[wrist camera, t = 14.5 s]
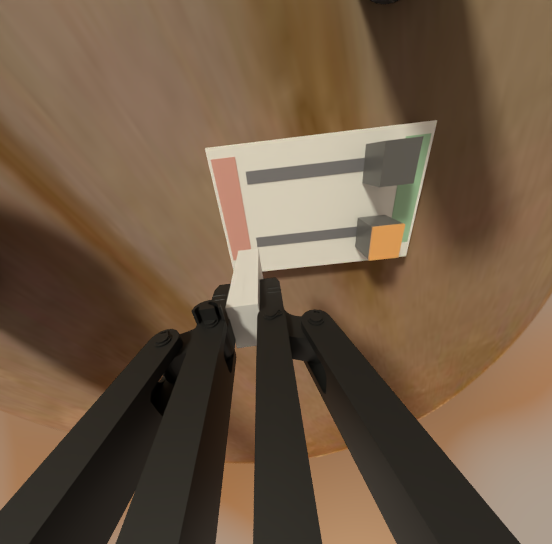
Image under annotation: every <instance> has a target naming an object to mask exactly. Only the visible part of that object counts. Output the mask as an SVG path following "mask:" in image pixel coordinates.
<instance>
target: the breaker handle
mask: <svg viewBox="0 0 552 544" xmlns="http://www.w3.org/2000/svg"><path fill="white" fill-rule="evenodd" d="M404 229H405V224H404V223H402V222H400V221H397V220H395V219H393V218H391V217H389V216H387V215H377V216H368V217H359V218H358V220H357V231H356V242H355V247H356V248H357V249H358V250H359V251H360V252H361V253H362V254H363V255H364V256H365V257H366V258H367V259H368V260H369V261H371V260H380V259H389V258H398V257H399V252H400V247H401V243H402V238H403V233H404Z"/></svg>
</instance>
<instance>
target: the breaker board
mask: <svg viewBox="0 0 552 544" xmlns="http://www.w3.org/2000/svg"><path fill="white" fill-rule="evenodd" d="M436 124H437V120H434V121H425V122H417V123H409V124H401V125H392V126H384V127H376V128H368V129H359V130H351V131H343V132H334V133H326V134H318V135H310V136H301V137H293V138H285V139H277V140H268V141H260V142H252V143H244V144H235V145H227V146H219V147H210V148H205V151H206V155H207V159H208V164H209V168H210V172H211V176H212V181H213V185H214V189H215V193H216V198H217V202H218V206H219V210H220V215H221V219H222V223H223V227H224V232H225V236H226V240H227V244H228V249H229V253H230V257H231V261H232V266H233V270H234V268H235V263H236V259H237V254H238V251H241V250H249V249H257V248H258V249H259V255H260V262H261V268H262V271H272V270H281V269H290V268H300V267H309V266H318V265H328V264H337V263H346V262H356V261H365V260H368V259H367V258H366V257H365V256H364V255H363V254H362V253H361V252H360V251H359V250H358V249H357V248H356V247H355V242H356V231H357V220H358V218H359V217H368V216H377V215H387V216H389V217H391V218H393V219H395V220H397V221H400V222H402V223H404V224H405V229H404V233H403V238H402V243H401V247H400V252H399V257H402V256H406V254H407V250H408V245H409V241H410V237H411V232H412V228H413V224H414V219H415V215H416V210H417V206H418V202H419V197H420V193H421V189H422V184H423V180H424V176H425V171H426V167H427V163H428V158H429V154H430V150H431V145H432V141H433V137H434V132H435V128H436Z"/></svg>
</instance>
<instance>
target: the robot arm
mask: <svg viewBox="0 0 552 544" xmlns="http://www.w3.org/2000/svg"><path fill="white" fill-rule="evenodd" d="M192 313H193V316H194V318H195V321H196V323H197V326H196V328H195V329H193V330H191V331H188V332H185V333H183V334H180V335H179V333H178V332H177V330H174V329H168V330H164V331H161V332H159V333H158V334H156V335H155V336H153V337H152V338H151V339H150V340H149V341H148V343H147V344H146V345H145V346H144V347H143V348H142V349H141V351H140V352H139V353H138V354H137V355H136V356H135V357H134V359H133V360H132V361H131V362H130V363H129V364H128V365H127V367H126V368H125V369H124V370H123V371H122V372H121V373H120V375H119V376H118V377H117V378H116V379H115V380H114V381H113V383H112V384H111V385H110V386H109V387H108V388H107V389H106V391H105V392H104V393H103V394H102V395H101V396H100V397H99V399H98V400H97V401H96V402H95V403H94V404H93V405H92V407H91V408H90V409H89V410H88V411H87V412H86V413H85V415H84V416H83V417H82V418H81V419H80V420H79V421H78V423H77V424H76V425H75V426H74V427H73V428H72V429H71V431H70V432H69V433H68V434H67V435H66V436H65V437H64V439H63V440H62V441H61V442H60V443H59V444H58V446H57V447H56V448H55V449H54V450H53V451H52V452H51V453H50V454H49V456H48V457H47V458H46V459H45V460H44V461H43V463H42V464H41V465H40V466H39V467H38V468H37V470H36V471H35V472H34V473H33V474H32V475H31V476H30V477H29V478H28V480H27V481H26V482H25V483H24V484H23V485H22V487H21V488H20V489H19V490H18V491H17V492H16V493H15V495H14V496H13V497H12V498H11V499H10V500H9V501H8V503H7V504H6V505H5V506H4V507H3V508H2V509H1V510H0V544H107V543H108V541H109V539H110V537H111V535H112V533H113V532H114V530H115V528H116V526H117V524H118V522H119V520H120V518H121V517H122V515H123V513H124V511H125V509H126V507H127V505H128V503H129V501H130V499H131V498H132V496H133V494H134V496H133V498H132V501H131V504H130V507H129V509H128V512H127V515H126V518H125V520H124V523H123V525H122V528H121V531H120V534H119V536H118V539H117V542H116V544H215V542H216V533H217V524H218V515H219V506H220V497H221V488H222V479H223V471H224V462H225V453H226V444H227V435H228V426H229V417H230V409H231V400H232V391H233V382H234V373H235V364H236V352H235V349H234V348H235V342H236V345H237V348H242V347H249V346H257V356H256V414H255V472H254V474H255V475H254V529H253V531H254V532H253V544H322V540H321V534H320V527H319V522H318V515H317V509H316V502H315V496H314V490H313V484H312V478H311V472H310V465H309V459H308V453H307V447H306V440H305V434H304V428H303V422H302V416H301V409H300V403H299V397H298V391H297V385H296V378H295V372H294V366H293V360H292V359H296V360H302V361H304V363H305V365H306V367H307V369H308V371H309V373H310V375H311V377H312V378H313V380H314V382H315V384H316V386H317V388H318V390H319V392H320V394H321V396H322V398H323V400H324V402H325V404H326V406H327V408H328V410H329V412H330V414H331V416H332V418H333V420H334V422H335V424H336V425H337V427H338V429H339V431H340V433H341V435H342V437H343V439H344V441H345V443H346V445H347V447H348V449H349V451H350V452H351V455H352V457H353V459H354V461H355V463H356V465H357V466H358V469H359V470H360V472H361V474H362V476H363V478H364V480H365V482H366V484H367V486H368V488H369V490H370V492H371V494H372V496H373V498H374V500H375V502H376V504H377V506H378V508H379V510H380V511H381V514H382V515H383V517H384V520H385V521H386V523H387V525H388V527H389V529H390V531H391V533H392V535H393V537H394V539H395V541H396V543H397V544H520V543H519V541H518V540H517V539H516V538H515V537H514V535H513V534H512V533H511V532H510V531H509V530H508V528H507V527H506V526H505V525H504V524H503V522H502V521H501V520H500V519H499V517H498V516H497V515H496V514H495V513H494V511H493V510H492V509H491V508H490V507H489V505H487V503H486V502H485V501H484V500H483V498H482V497H481V496H480V495H479V494H478V492H477V491H476V490H475V489H474V488H473V486H472V485H471V484H470V483H469V482H468V480H467V479H466V478H465V477H464V476H463V474H462V473H461V472H460V471H459V470H458V468H457V467H456V466H455V465H454V464H453V462H451V460H450V459H449V458H448V457H447V455H446V454H445V453H444V452H443V451H442V449H441V448H440V447H439V446H438V445H437V444H436V442H435V441H434V440H433V439H432V437H431V436H430V435H429V434H428V433H427V431H426V430H425V429H424V428H423V427H422V426H421V424H420V423H419V422H418V421H417V419H416V418H415V417H414V416H413V415H412V414H411V412H410V411H409V410H408V409H407V408H406V406H405V405H404V404H403V403H402V402H401V400H400V399H399V398H398V397H397V396H396V394H395V393H394V392H393V391H392V390H391V388H390V387H389V386H388V385H387V384H386V382H385V381H384V380H383V379H382V378H381V376H380V375H379V374H378V373H377V372H376V370H375V369H374V368H373V367H372V366H371V365H370V363H369V362H368V361H367V360H366V359H365V357H364V356H363V355H362V354H361V353H360V351H359V350H358V349H357V348H356V347H355V345H354V344H353V343H352V342H351V341H350V339H349V338H348V337H347V336H346V335H345V333H344V332H343V331H342V330H341V329H340V327H339V326H338V325H337V324H336V323H335V322H334V320H333V319H332V318H331V317H330V316H329V315H328V314H327V313H326V312H324V311H321V310H309V311H307V312H305V313H304V314H303V315H302V317H300V316H294V315H291V314H289V313H287V312H286V311H285V310H284V307H283V301H282V295H281V289H280V282H279V281H278V280H277V279H276V278H268V279H263V274H262V268H261V262H260V255H259V249H258V248H257V249H249V250H241V251H238V254H237V259H236V263H235V268H234V272H233V277H232V281H231V284H225V285H219V287H218V288H217V289H216V290H215V291H214V294H213V297H212V300H208V301H204V302H202V303H200V304H198V305H197V306H195V307H194V308H193V310H192ZM162 375H163V378H162V379H161V380H160V381H159V379H160V378H161V376H162ZM158 381H159V382H158ZM134 492H135V493H134Z"/></svg>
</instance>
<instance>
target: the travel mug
mask: <svg viewBox="0 0 552 544" xmlns="http://www.w3.org/2000/svg"><path fill="white" fill-rule="evenodd" d="M371 1H373V2H375V3H379V4H389V3H393V2H396V1H398V0H371Z"/></svg>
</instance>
